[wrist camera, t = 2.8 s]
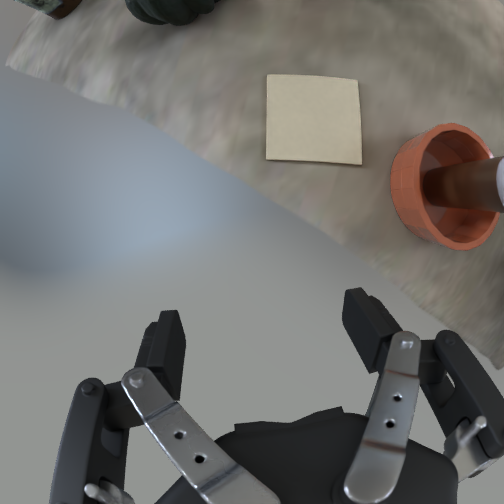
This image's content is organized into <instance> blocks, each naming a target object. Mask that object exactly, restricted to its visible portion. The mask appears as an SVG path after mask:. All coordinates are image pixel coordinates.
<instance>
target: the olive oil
mask: <svg viewBox="0 0 504 504" xmlns="http://www.w3.org/2000/svg"><path fill="white" fill-rule="evenodd" d="M14 1H18V2H20V3H23V4H25V5H27V6H30V7H32V8H34V9H36V10H38V11H40V12H43V13H45V14H47V15H49V16H50V17H52V18H54V19H61V18H63V17H65V16H66V15H68V14H69V13H70V12H71V11H72V10H74V9H75V8H76V7H77V5H78V4H79V3H80V2H81V1H82V0H14Z"/></svg>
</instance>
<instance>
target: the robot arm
mask: <svg viewBox="0 0 504 504" xmlns="http://www.w3.org/2000/svg"><path fill="white" fill-rule="evenodd" d="M342 321H343V325H344V327H345V329H346V331H347V333H348V335H349V337H350V339H351V340H352V342H353V344H354V346H355V348H356V350H357V352H358V353H359V355H360V357H361V359H362V361H363V363H364V364H365V367H366V369H367V370H368V372H369V374H370V373H373V372H377V371H378V373H379V377H378V380H377V383H376V386H375V389H374V393H373V395H372V398H371V401H370V404H369V407H368V409H367V412H366V414H365V416H364V415H360V414H355V413H344V412H343V409H342V406H340V407H336V408H332V409H328V410H323V411H319V412H315V413H313V414H311V415H309V416H306V417H304V418H302V419H299V420H297V421H294V422H292V423H279V422H265V421H259V422H250V423H240V424H234V426H235V431H233V432H230V433H227V434H225V435H223V436H221V437H219V438H218V439H216V440H215V441H213V440H212V439H211V438H210V437H209V436H208V435H207V434H206V433H205V432H204V431H203V430H202V428H201V427H200V426H199V425H198V424H197V423H196V422H195V421H194V420H193V419H192V417H191V416H190V415H189V414H188V413H187V412H186V411H185V410H184V408H183V407H182V406H181V405H180V404H179V403H178V402H177V401H178V400H180V391H181V383H182V374H183V365H184V357H185V349H186V339H185V334H184V330H183V327H182V323H181V320H180V317H179V313H178V311H177V310H169V311H168V310H167V311H161V313H160V316H159V320H158V322H152V323H151V324H150V325H149V326H148V327H147V328H146V330H145V333H144V336H143V339H142V343H141V346H140V349H139V353H138V356H137V359H136V363H135V366H134V368H133V369H131V370H129V371H128V372H126V373H125V374H124V376H123V378H122V381H119V382H116V383H111V384H107V385H104V384H103V383H102V382H101V380H99V379H97V378H88V379H86V380H84V381H82V382H81V383H80V384H79V385H78V386H77V388H76V391H75V394H74V397H73V400H72V403H71V407H70V410H69V413H68V417H67V420H66V424H65V427H64V431H63V435H62V439H61V442H60V446H59V451H58V456H57V460H56V465H55V469H54V475H53V481H52V486H51V493H50V500H49V504H135V503H134V500H133V498H132V497H131V496H130V495H129V494H128V493H127V492H125V491H124V480H125V467H126V456H127V446H128V438H129V429H130V428H131V427H136V426H140V425H144V424H145V426H146V427H147V429H148V430H149V432H150V433H151V434H152V436H153V437H154V439H155V440H156V441H157V443H158V444H159V446H160V447H161V448H162V450H163V451H164V452H165V454H166V455H167V456H168V458H169V459H170V460H171V461H172V463H173V464H174V465H175V466H176V468H177V469H178V470H179V471H180V473H181V474H182V476H181V477H180V478H179V479H178V480H177V481H176V482H175V483H174V484H173V485H172V486H171V487H170V488H169V490H168V491H167V492H166V493H165V494H164V495H163V496H162V497H161V498H160V499H159V500H158V501H157V502H156V503H154V504H457V489H458V483H459V482H461V481H462V480H464V479H466V478H472V477H475V476H476V475H478V474H479V473H481V472H482V471H484V470H485V469H486V468H488V467H489V466H490V465H492V464H493V463H494V462H496V461H497V460H498V459H499V458H500V457H502V456H503V455H504V398H503V396H502V395H501V394H500V392H499V390H498V389H497V387H496V386H495V384H494V383H493V381H492V380H491V378H490V377H489V375H488V374H487V373H486V371H485V370H484V368H483V367H482V365H481V364H480V363H479V361H478V360H477V358H476V357H475V356H474V354H473V353H472V352H471V350H470V349H469V348H468V346H467V345H466V344H465V342H464V341H463V340H462V339H461V337H460V336H459V335H458V334H457V333H455V332H453V331H450V330H442V331H440V332H439V333H438V334H437V336H436V338H435V340H420V338H419V337H418V336H417V335H415V334H414V333H412V332H409V331H403V330H402V328H401V327H400V326H399V324H398V323H397V322H396V321H395V319H394V318H393V317H392V315H391V314H389V312H388V310H387V309H386V308H385V306H384V305H383V304H382V303H381V302H380V300H378V299H377V298H375V297H373V296H368V295H367V294H366V292H365V291H364V290H363V289H362V288H361V287H359V288H354V289H348V290H346V291H345V297H344V305H343V312H342ZM447 372H448V374H449V375H450V377H451V378H452V380H453V382H454V385H455V388H454V387H453V385H452V383H451V381H450V380H449V378H448V376H447V375H446V374H447ZM419 385H420V387H421V389H422V390H423V392H424V394H425V396H426V398H427V400H428V402H429V404H430V406H431V408H432V410H433V412H434V414H435V416H436V418H437V420H438V422H439V424H440V426H441V428H442V430H443V433H444V435H445V437H446V440H445V443H444V453H443V454H441V453H438V452H436V451H434V450H432V449H430V448H427V447H425V446H423V445H421V444H419V443H417V442H415V441H413V440H411V439H409V438H408V437H409V433H410V429H411V425H412V421H413V417H414V412H415V406H416V402H417V397H418V390H419ZM175 401H176V402H175Z"/></svg>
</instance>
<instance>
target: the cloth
mask: <svg viewBox="0 0 504 504" xmlns="http://www.w3.org/2000/svg"><path fill="white" fill-rule="evenodd" d="M266 160H292V161H314V162H329V163H342V164H354V165H362V137H361V117H360V102H359V91H358V81H357V80H352V79H344V78H334V77H323V76H309V75H278V74H271V75H267V138H266Z"/></svg>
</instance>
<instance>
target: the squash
mask: <svg viewBox="0 0 504 504" xmlns="http://www.w3.org/2000/svg"><path fill="white" fill-rule="evenodd" d="M218 1H220V0H125V2H126V5H127V7H128V9H129V10H130V12H131V13H132V14H133V15H134V16H135V17H136V18H137V19H139V20H141V21H143V22H146V23H150V24H155V25H163V24H168V23H170V24H173V25H186V24H189V23H190V22H192V21H193V20H194V19H195V18H196V17H197V15H198V13H199V14H207V13H209V12H211V11H212V10H213V9H214V3H215V2H218Z"/></svg>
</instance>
